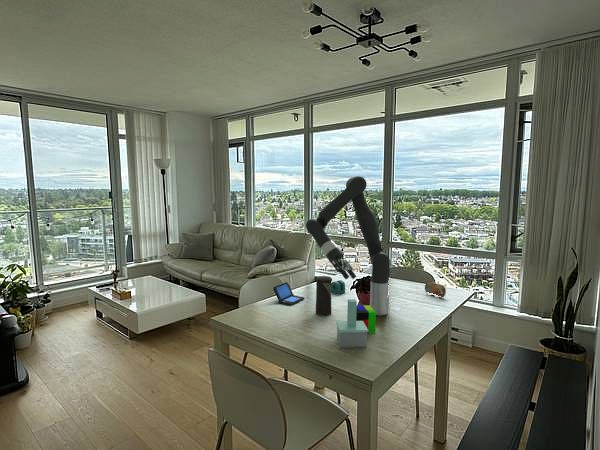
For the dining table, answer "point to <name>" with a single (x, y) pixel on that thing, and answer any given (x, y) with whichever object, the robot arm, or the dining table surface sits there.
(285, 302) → the handheld game console
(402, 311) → the dining table surface
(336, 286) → the teal rounded piece
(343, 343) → the tub
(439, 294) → the wooden scrub brush
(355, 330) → the lid
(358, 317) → the puzzle toy
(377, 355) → the dining table surface
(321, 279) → the container
